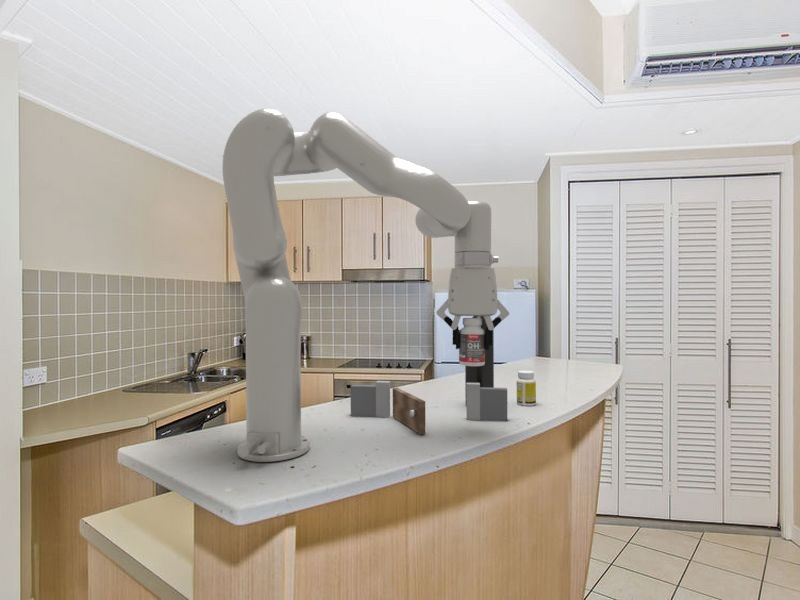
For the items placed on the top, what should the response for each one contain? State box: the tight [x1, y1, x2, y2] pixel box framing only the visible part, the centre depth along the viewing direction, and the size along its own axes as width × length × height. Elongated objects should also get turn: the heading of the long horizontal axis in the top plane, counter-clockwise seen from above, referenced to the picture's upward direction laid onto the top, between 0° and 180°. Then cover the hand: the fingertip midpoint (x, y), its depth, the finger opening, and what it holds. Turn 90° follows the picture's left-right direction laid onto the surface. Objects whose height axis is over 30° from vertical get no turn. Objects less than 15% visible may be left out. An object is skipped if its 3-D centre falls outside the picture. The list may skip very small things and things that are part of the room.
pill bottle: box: [458, 317, 485, 367], centre depth 95 cm, size 5×5×10 cm
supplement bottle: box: [516, 369, 537, 407], centre depth 117 cm, size 5×5×8 cm
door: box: [392, 387, 426, 435], centre depth 97 cm, size 15×2×6 cm, turn 22°
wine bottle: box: [464, 316, 495, 401], centre depth 114 cm, size 6×6×30 cm
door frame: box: [350, 380, 508, 422], centre depth 104 cm, size 2×36×8 cm, turn 82°
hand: (472, 347), depth 95 cm, fingers closed on pill bottle, 5 cm apart
